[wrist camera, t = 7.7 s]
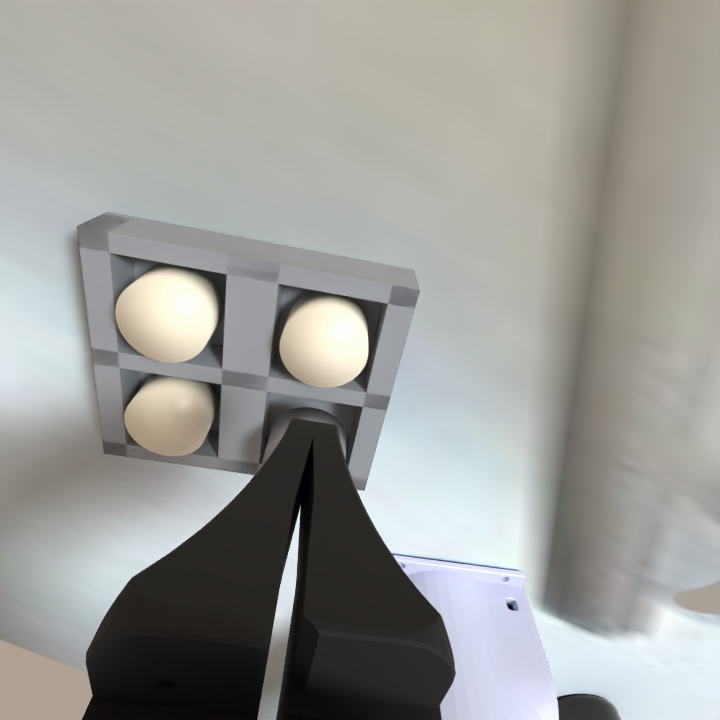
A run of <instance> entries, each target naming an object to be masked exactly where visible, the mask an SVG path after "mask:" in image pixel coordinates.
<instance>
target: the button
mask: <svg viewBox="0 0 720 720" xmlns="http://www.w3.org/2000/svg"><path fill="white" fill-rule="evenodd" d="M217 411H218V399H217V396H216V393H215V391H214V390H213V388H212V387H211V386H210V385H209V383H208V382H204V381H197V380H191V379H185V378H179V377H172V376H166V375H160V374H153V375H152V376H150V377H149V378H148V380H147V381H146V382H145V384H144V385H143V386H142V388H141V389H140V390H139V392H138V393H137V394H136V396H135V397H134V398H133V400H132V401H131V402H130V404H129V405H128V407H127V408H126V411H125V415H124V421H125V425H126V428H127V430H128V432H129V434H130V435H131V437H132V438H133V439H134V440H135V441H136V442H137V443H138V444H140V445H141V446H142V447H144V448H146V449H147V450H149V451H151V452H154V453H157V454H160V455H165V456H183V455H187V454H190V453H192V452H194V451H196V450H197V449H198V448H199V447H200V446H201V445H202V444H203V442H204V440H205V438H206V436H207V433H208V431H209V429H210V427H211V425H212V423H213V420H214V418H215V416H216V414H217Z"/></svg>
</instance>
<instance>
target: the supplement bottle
mask: <svg viewBox="0 0 720 720" xmlns="http://www.w3.org/2000/svg"><path fill="white" fill-rule="evenodd" d="M557 701H558V711H559V720H621V718H620V716H619V713H618V711H617V709H616V708H615V707H614V706H613V705H612V704H611V703H610V702H609V701H607V700H606V699H603V698H601V697H597V696H592V695H573V696H566V697H562V698H559V699H557Z"/></svg>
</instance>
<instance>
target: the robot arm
mask: <svg viewBox="0 0 720 720" xmlns="http://www.w3.org/2000/svg"><path fill="white" fill-rule="evenodd" d="M300 505H301V510H300V528H299V546H298V564H297V579H296V590H295V597H294V604H293V611H292V618H291V624H290V631H289V638H288V645H287V652H286V658H285V665H284V672H283V679H282V685H281V692H280V699H279V705H278V712H277V719H276V720H559V711H558V701H557V695H556V689H555V685H554V681H553V677H552V674H551V671H550V668H549V665H548V661H547V658H546V655H545V652H544V649H543V646H542V643H541V640H540V637H539V634H538V631H537V628H536V624H535V621H534V618H533V615H532V612H531V609H530V606H529V603H528V600H527V597H526V594H525V591H524V588H523V587H524V585H525V584H526V582H527V577H526V574H525V573H524V572H520V571H513V570H505V569H497V568H490V567H482V566H474V565H467V564H459V563H451V562H444V561H436V560H428V559H421V558H413V557H405V556H398V555H392V554H391V552H390V551H389V549H388V548H387V546H386V545H385V543H384V542H383V540H382V538H381V537H380V535H379V533H378V532H377V530H376V528H375V526H374V525H373V523H372V521H371V519H370V517H369V515H368V513H367V511H366V509H365V507H364V505H363V503H362V501H361V499H360V497H359V494H358V492H357V490H356V487H355V485H354V482H353V480H352V477H351V474H350V471H349V469H348V466H347V463H346V460H345V457H344V453H343V449H342V446H341V441H340V436H339V428H338V427H337V426H336V425H334V424H328V423H321V422H315V421H309V420H302V419H296V418H294V419H292V420H291V421H290V423H289V425H288V428H287V430H286V432H285V433H284V435H283V437H282V439H281V440H280V442H279V443H278V445H277V447H276V448H275V450H274V451H273V452H272V454H271V455H270V457H269V458H268V459H267V461H266V462H265V464H264V465H263V466H262V467H261V469H260V470H259V471H258V472H257V473H256V475H255V476H254V477H253V478H252V480H251V481H250V482H249V483H248V484H247V485H246V487H245V488H244V489H243V490H242V491H241V492H240V493H239V494H238V495H237V496H236V497H235V498H234V499H233V500H232V501H231V502H230V503H229V504H228V505H227V506H226V507H225V508H224V509H223V510H222V511H221V512H220V513H219V514H218V515H216V516H215V517H214V518H213V519H212V520H211V521H210V522H209V523H208V524H206V525H205V526H204V527H203V528H202V529H200V530H199V531H198V532H197V533H195V534H194V535H193V536H191V537H190V538H189V539H187V540H186V541H185V542H184V543H182V544H181V545H180V546H178V547H177V548H176V549H174V550H173V551H172V552H170V553H169V554H167V555H166V556H164V557H163V558H161V559H160V560H158V561H157V562H155V563H154V564H152V565H151V566H149V567H148V568H146V569H145V570H143V571H141V572H140V573H138V574H137V575H135V576H134V577H132V578H131V580H130V581H129V582H128V583H127V585H126V586H125V587H124V589H123V590H122V591H121V593H120V594H119V595H118V597H117V598H116V600H115V601H114V603H113V604H112V606H111V607H110V609H109V611H108V612H107V614H106V615H105V617H104V619H103V620H102V622H101V624H100V626H99V628H98V630H97V632H96V634H95V636H94V638H93V640H92V642H91V644H90V646H89V648H88V650H87V652H86V666H87V671H88V676H89V680H90V685H91V690H92V695H93V696H92V698H91V701H90V703H89V705H88V707H87V710H86V712H85V714H84V717H83V719H82V720H257V717H258V711H259V705H260V700H261V694H262V688H263V682H264V676H265V670H266V664H267V658H268V653H269V647H270V641H271V635H272V629H273V623H274V617H275V612H276V606H277V600H278V594H279V588H280V584H281V579H282V575H283V571H284V567H285V563H286V559H287V555H288V551H289V548H290V544H291V540H292V536H293V532H294V528H295V525H296V521H297V517H298V513H299V509H300Z"/></svg>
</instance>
